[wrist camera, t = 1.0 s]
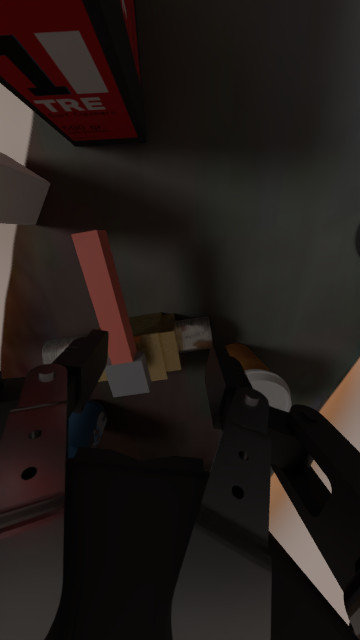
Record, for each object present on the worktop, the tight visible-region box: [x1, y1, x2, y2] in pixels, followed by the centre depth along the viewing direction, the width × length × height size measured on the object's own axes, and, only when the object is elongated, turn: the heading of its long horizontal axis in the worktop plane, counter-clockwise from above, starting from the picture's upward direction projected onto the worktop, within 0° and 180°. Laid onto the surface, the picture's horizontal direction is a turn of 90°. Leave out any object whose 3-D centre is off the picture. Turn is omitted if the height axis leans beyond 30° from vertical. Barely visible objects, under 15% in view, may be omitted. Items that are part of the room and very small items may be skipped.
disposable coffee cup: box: [224, 343, 291, 412], centre depth 34 cm, size 10×10×12 cm
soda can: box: [69, 400, 107, 458], centre depth 38 cm, size 7×7×12 cm
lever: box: [71, 230, 151, 397], centre depth 25 cm, size 18×4×3 cm, turn 9°
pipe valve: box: [42, 312, 213, 382], centre depth 33 cm, size 25×7×9 cm, turn 99°
